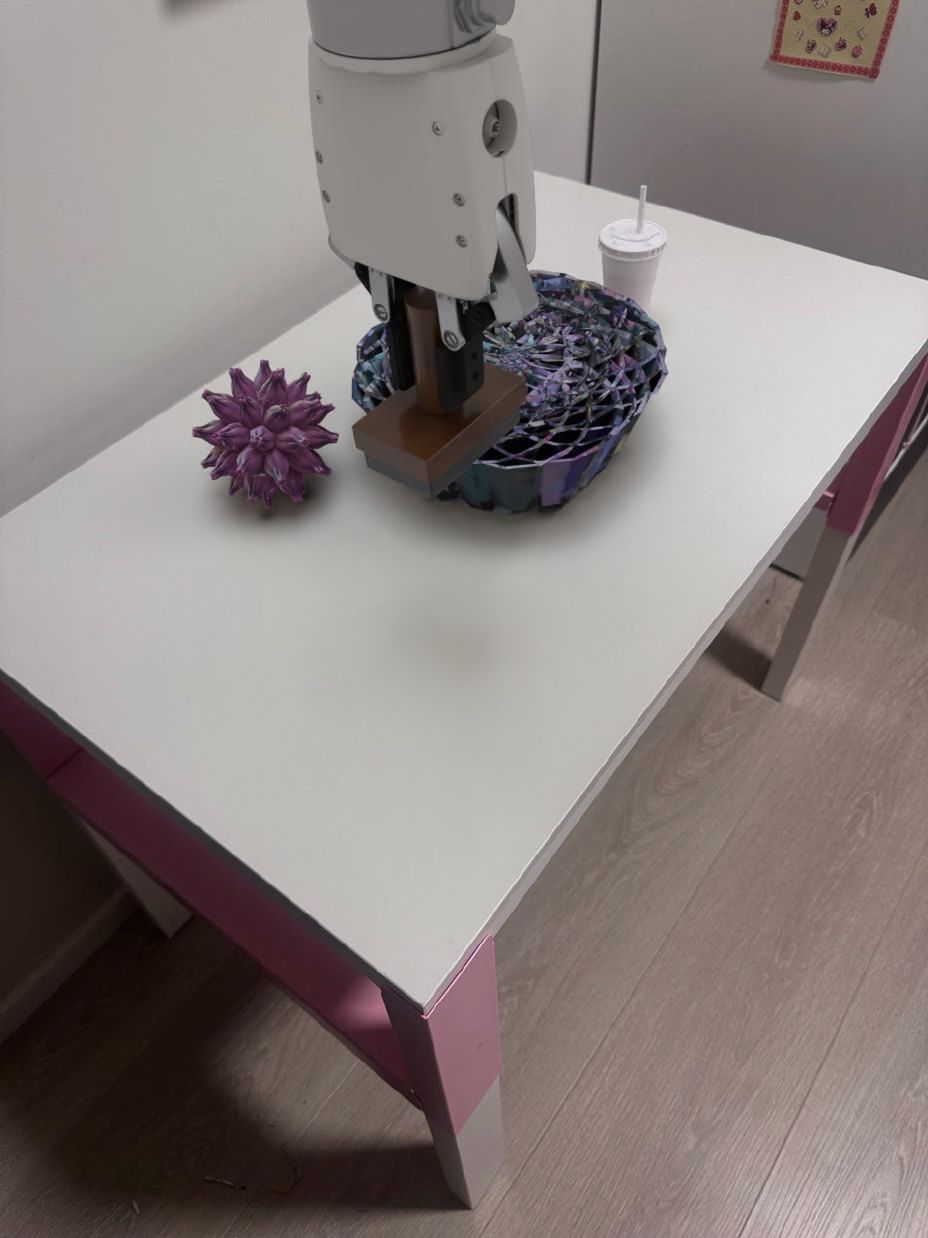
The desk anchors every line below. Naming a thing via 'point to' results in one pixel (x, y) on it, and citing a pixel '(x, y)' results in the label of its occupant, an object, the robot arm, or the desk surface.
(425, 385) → the stamp
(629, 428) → the decorative bowl
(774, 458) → the desk surface
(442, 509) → the desk surface
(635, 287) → the smoothie
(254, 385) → the flower
